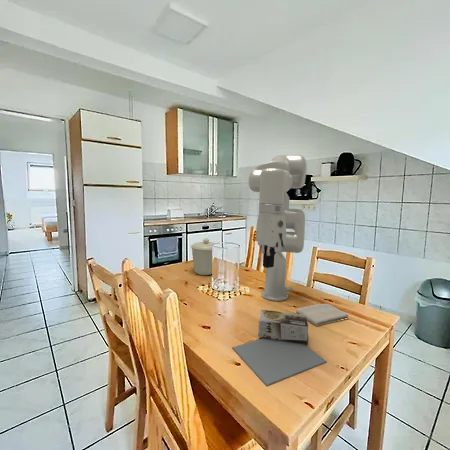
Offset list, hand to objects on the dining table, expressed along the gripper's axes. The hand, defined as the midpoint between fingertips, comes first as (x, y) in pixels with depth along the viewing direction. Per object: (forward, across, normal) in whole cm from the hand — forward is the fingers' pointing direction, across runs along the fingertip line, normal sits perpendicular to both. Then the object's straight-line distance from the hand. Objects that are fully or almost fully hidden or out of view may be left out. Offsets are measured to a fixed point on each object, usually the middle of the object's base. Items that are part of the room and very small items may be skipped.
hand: (268, 266), depth 83 cm
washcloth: (+27, +5, -33) cm, 43 cm away
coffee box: (+22, +6, -2) cm, 23 cm away
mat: (+26, -8, 0) cm, 27 cm away
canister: (+27, +75, -11) cm, 81 cm away
